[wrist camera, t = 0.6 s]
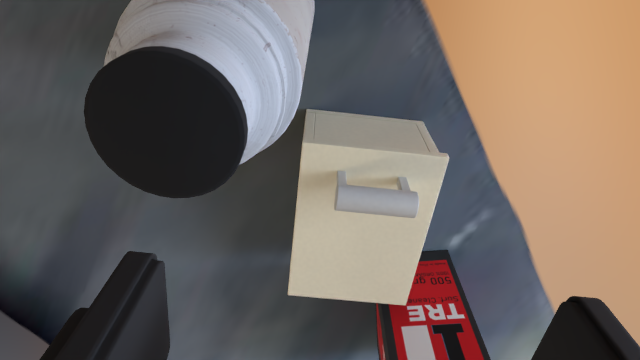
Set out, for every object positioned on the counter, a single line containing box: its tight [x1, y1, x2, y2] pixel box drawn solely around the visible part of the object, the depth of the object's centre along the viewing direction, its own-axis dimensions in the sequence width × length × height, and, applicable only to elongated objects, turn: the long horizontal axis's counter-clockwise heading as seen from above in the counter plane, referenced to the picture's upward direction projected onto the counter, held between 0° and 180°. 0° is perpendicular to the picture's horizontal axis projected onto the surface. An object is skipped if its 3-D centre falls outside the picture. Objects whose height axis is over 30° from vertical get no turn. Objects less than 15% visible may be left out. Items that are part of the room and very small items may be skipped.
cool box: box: [303, 109, 439, 153], centre depth 42 cm, size 16×12×9 cm
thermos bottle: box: [84, 0, 315, 198], centre depth 25 cm, size 8×8×28 cm
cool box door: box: [288, 139, 449, 305], centre depth 35 cm, size 17×12×5 cm
